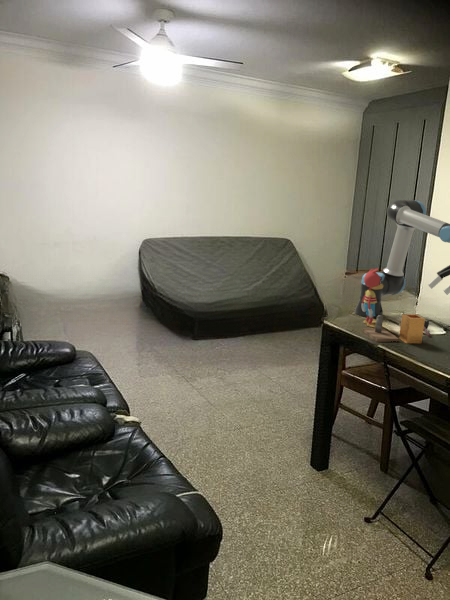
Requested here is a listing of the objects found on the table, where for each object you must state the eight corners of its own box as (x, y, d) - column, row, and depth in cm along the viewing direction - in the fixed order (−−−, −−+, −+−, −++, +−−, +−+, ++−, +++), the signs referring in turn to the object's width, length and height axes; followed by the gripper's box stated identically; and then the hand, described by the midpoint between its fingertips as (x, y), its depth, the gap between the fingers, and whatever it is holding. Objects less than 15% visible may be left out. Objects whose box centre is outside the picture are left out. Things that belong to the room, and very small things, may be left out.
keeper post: (362, 331, 241) (364, 311, 239) (383, 331, 243) (385, 312, 240) (376, 341, 226) (379, 321, 223) (398, 341, 227) (401, 321, 225)
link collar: (398, 338, 233) (402, 314, 230) (413, 338, 234) (416, 314, 231) (406, 343, 226) (410, 318, 223) (421, 343, 227) (425, 318, 224)
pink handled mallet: (407, 324, 256) (424, 328, 255) (411, 338, 240) (428, 343, 238) (412, 311, 253) (428, 316, 252) (416, 325, 237) (433, 329, 235)
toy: (383, 329, 246) (390, 271, 239) (363, 328, 246) (370, 270, 239) (374, 321, 261) (381, 266, 254) (355, 320, 261) (362, 265, 253)
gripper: (494, 268, 212) (457, 301, 214) (461, 260, 236) (428, 289, 238) (484, 255, 210) (447, 289, 212) (452, 249, 235) (419, 279, 236)
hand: (437, 289), depth 225 cm, fingers open, 13 cm apart
